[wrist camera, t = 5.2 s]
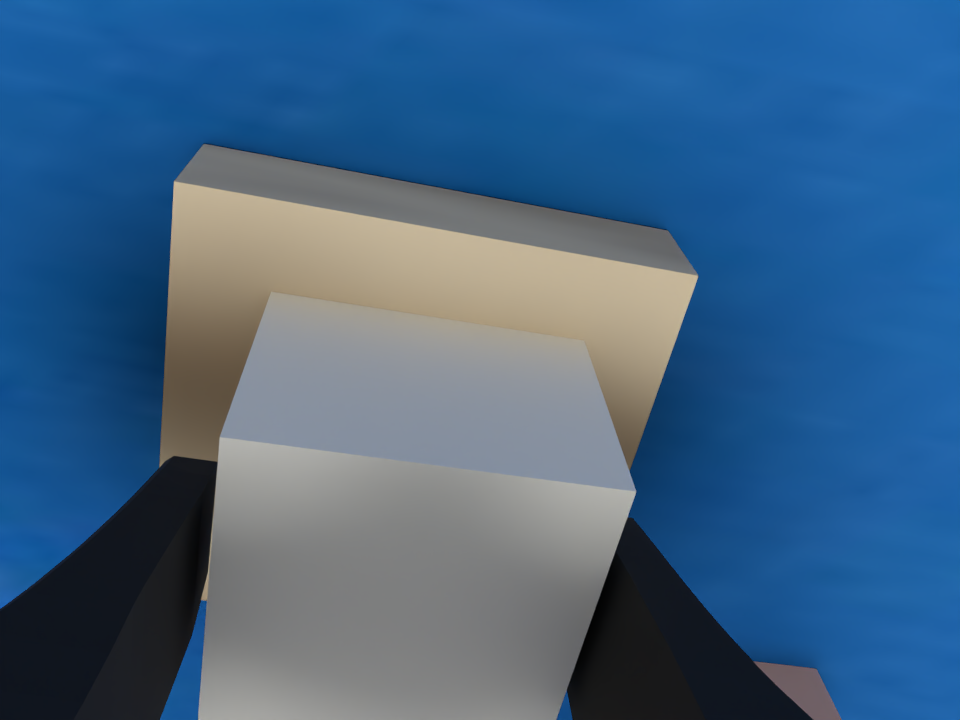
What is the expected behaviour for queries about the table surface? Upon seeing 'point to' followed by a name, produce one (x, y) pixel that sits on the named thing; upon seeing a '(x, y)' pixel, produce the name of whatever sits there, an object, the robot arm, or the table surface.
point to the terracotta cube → (803, 689)
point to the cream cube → (407, 519)
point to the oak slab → (401, 278)
